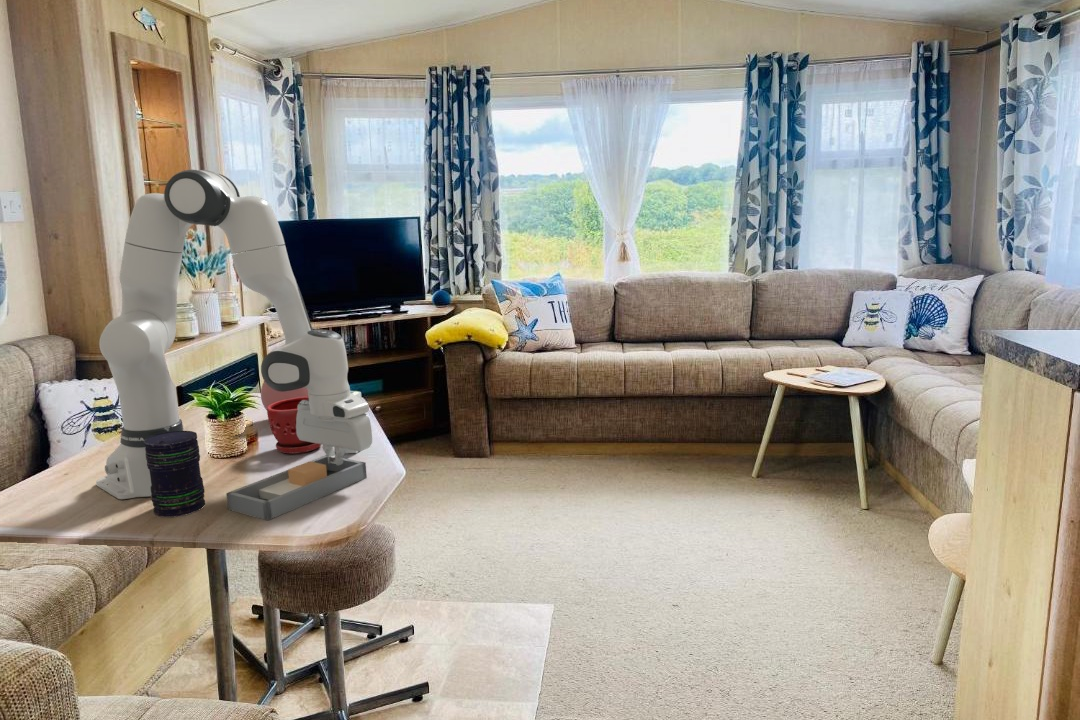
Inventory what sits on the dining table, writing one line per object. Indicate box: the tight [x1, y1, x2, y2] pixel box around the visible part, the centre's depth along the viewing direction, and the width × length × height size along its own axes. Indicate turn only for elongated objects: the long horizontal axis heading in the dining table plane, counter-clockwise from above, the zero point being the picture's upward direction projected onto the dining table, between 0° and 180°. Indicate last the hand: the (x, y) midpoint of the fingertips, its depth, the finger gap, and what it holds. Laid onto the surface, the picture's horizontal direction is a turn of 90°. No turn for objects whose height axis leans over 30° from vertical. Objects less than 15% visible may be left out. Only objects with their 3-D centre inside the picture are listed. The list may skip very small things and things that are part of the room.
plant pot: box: [266, 397, 323, 455], centre depth 197 cm, size 13×13×12 cm
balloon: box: [260, 380, 309, 411], centre depth 224 cm, size 15×20×15 cm
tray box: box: [225, 454, 368, 521], centre depth 167 cm, size 12×27×4 cm, turn 148°
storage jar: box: [144, 430, 206, 518], centre depth 159 cm, size 10×10×15 cm
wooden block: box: [287, 460, 327, 486], centre depth 168 cm, size 5×6×3 cm
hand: (335, 463), depth 175 cm, fingers closed
